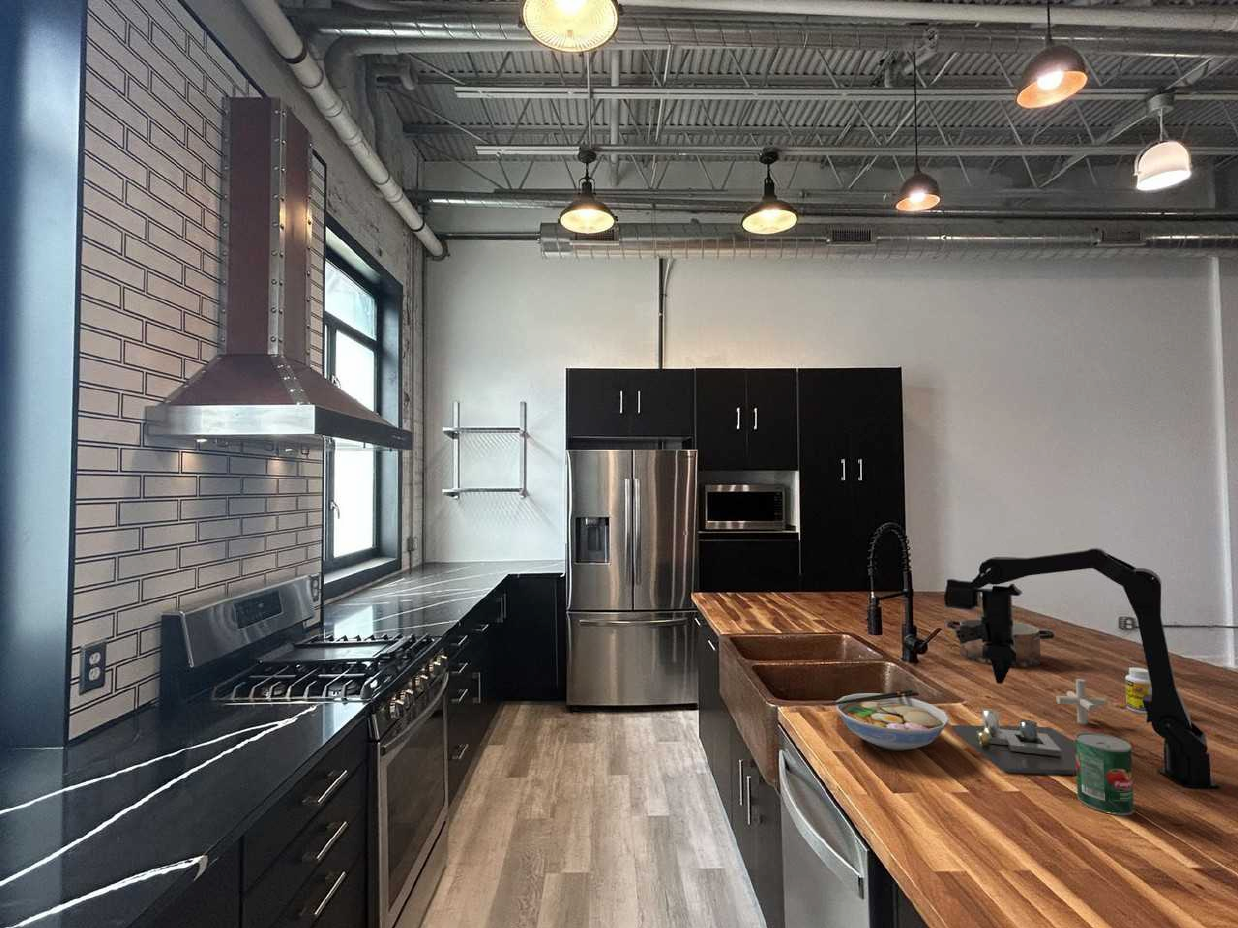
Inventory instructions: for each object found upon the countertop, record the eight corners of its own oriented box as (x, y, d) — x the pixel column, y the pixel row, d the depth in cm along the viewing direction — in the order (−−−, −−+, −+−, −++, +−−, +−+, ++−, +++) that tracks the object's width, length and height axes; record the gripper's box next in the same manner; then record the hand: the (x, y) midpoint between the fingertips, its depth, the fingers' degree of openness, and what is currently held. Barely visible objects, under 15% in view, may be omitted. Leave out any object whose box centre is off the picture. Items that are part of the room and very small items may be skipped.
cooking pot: (944, 660, 199) (943, 627, 200) (951, 645, 218) (950, 615, 218) (1057, 675, 183) (1055, 639, 183) (1053, 658, 201) (1052, 625, 202)
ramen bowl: (877, 775, 119) (876, 732, 119) (811, 730, 141) (810, 694, 141) (980, 759, 126) (979, 719, 126) (901, 719, 148) (900, 685, 148)
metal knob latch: (1046, 739, 132) (1045, 710, 132) (1062, 756, 124) (1060, 725, 124) (973, 731, 137) (972, 703, 137) (983, 747, 128) (982, 717, 129)
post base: (1123, 776, 118) (1121, 744, 118) (1005, 773, 119) (1004, 742, 119) (1050, 731, 140) (1049, 705, 140) (951, 729, 141) (950, 703, 141)
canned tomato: (1078, 788, 113) (1076, 728, 113) (1133, 802, 108) (1131, 739, 108) (1076, 805, 107) (1073, 742, 107) (1134, 821, 102) (1131, 754, 102)
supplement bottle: (1120, 708, 154) (1119, 667, 155) (1136, 705, 156) (1134, 665, 156) (1145, 716, 149) (1143, 673, 149) (1161, 713, 151) (1159, 671, 151)
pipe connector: (1118, 732, 139) (1117, 688, 139) (1069, 729, 141) (1068, 685, 141) (1094, 716, 149) (1092, 675, 149) (1048, 713, 151) (1047, 673, 151)
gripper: (957, 603, 150) (959, 667, 149) (955, 617, 134) (957, 689, 133) (1011, 607, 144) (1013, 674, 143) (1015, 622, 128) (1017, 697, 127)
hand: (999, 683), depth 137 cm, fingers closed
